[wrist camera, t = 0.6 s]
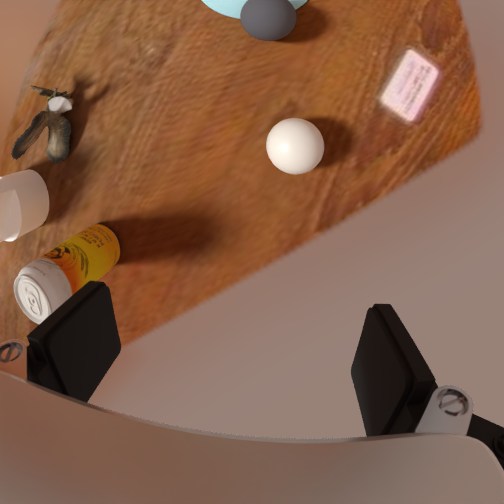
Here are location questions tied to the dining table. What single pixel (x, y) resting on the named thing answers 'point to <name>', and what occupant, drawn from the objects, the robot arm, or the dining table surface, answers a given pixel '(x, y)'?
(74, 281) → the beer can
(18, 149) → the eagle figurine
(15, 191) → the base with upright slab
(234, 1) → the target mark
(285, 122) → the cue ball
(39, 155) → the dining table surface
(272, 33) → the object ball
